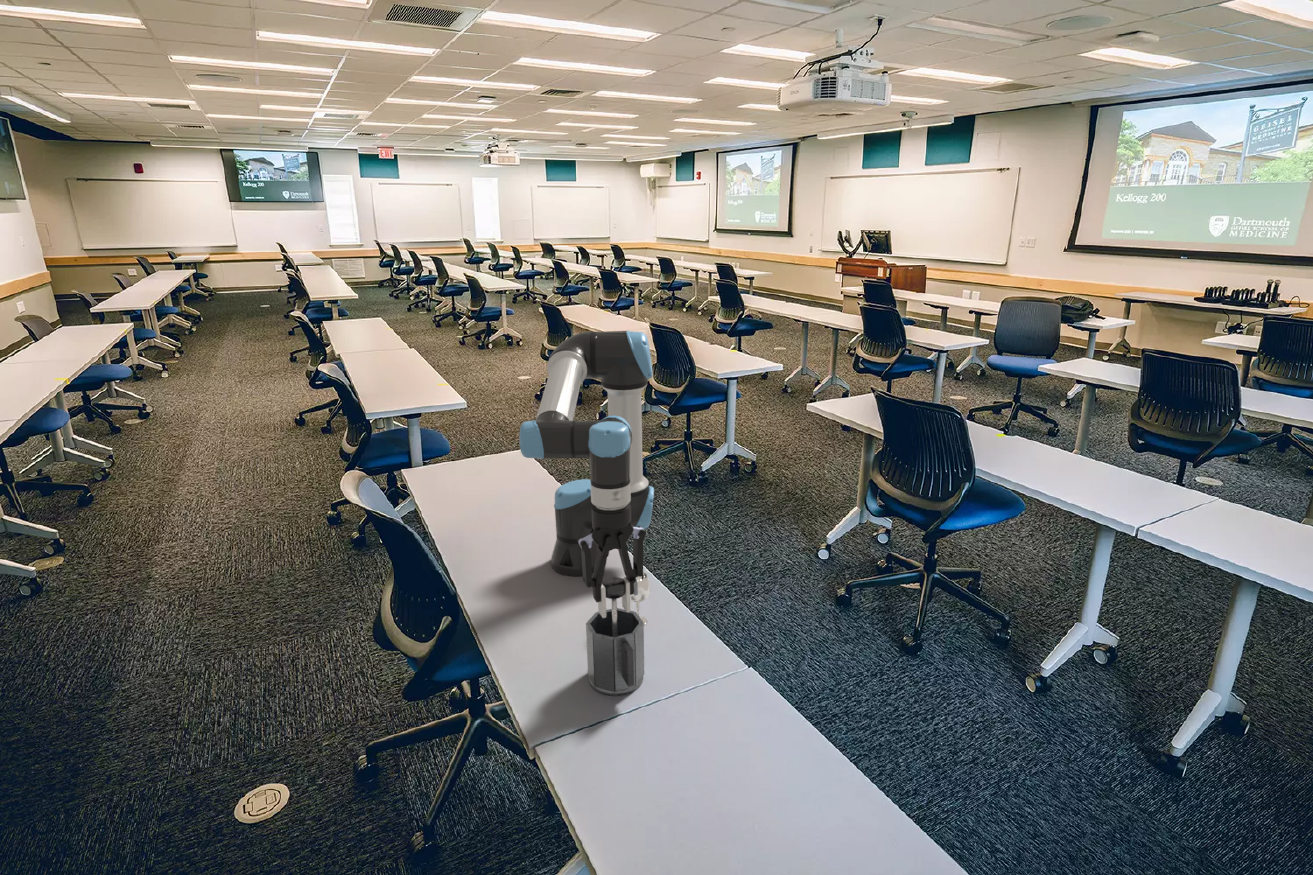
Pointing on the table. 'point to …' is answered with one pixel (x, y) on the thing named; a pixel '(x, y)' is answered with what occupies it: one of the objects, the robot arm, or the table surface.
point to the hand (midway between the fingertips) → (614, 611)
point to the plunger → (614, 597)
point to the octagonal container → (615, 653)
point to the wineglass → (640, 592)
